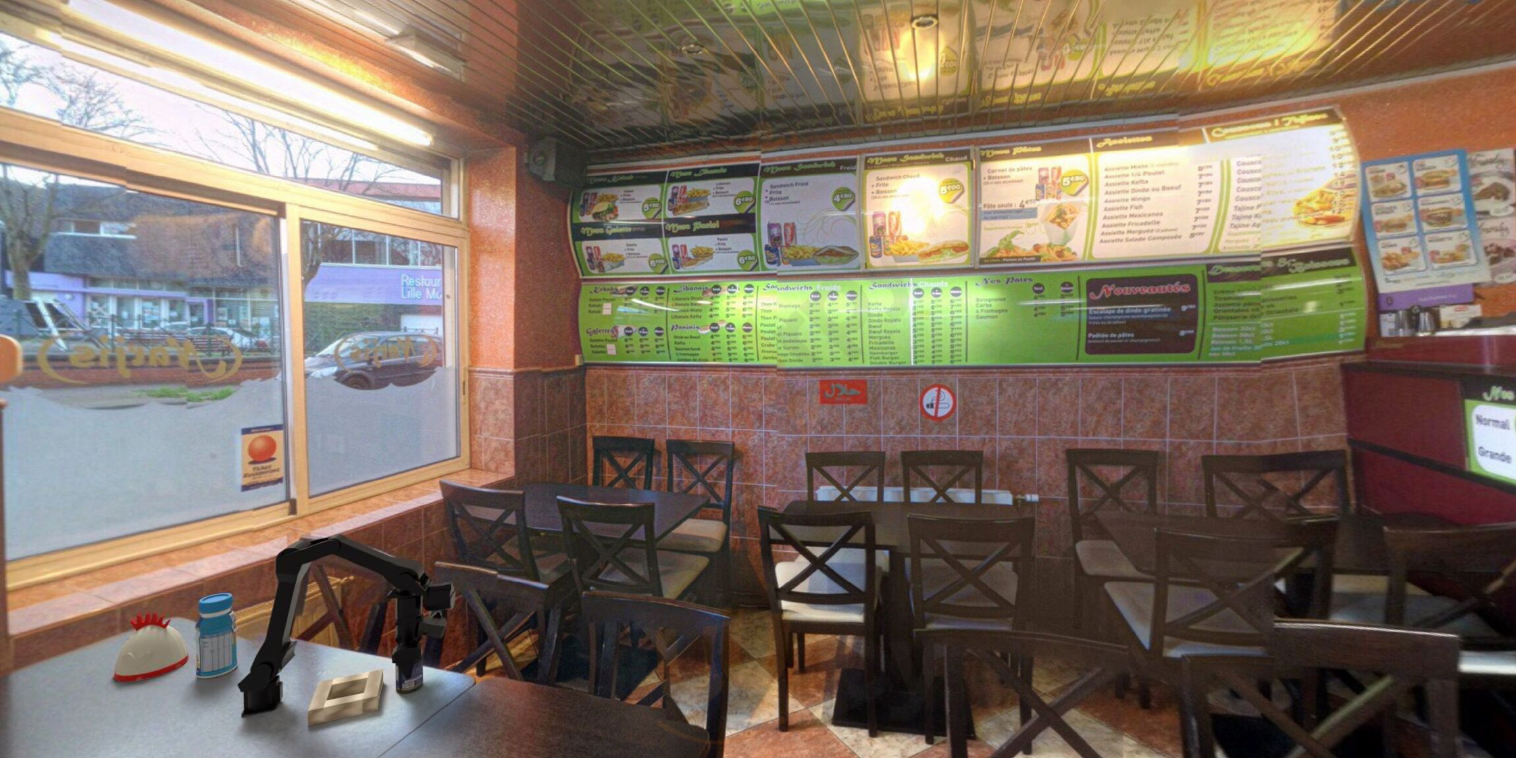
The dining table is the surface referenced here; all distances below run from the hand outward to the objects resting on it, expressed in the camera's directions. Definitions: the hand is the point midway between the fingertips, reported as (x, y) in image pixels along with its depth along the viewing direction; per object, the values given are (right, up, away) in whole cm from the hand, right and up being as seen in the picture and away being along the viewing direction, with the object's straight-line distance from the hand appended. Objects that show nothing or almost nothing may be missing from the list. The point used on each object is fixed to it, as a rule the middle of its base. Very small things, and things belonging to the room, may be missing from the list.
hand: (409, 672), depth 151 cm
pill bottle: (0, -4, 0) cm, 4 cm away
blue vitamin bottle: (-55, -3, +6) cm, 56 cm away
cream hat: (-74, -3, +8) cm, 74 cm away
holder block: (-11, -4, -7) cm, 14 cm away
